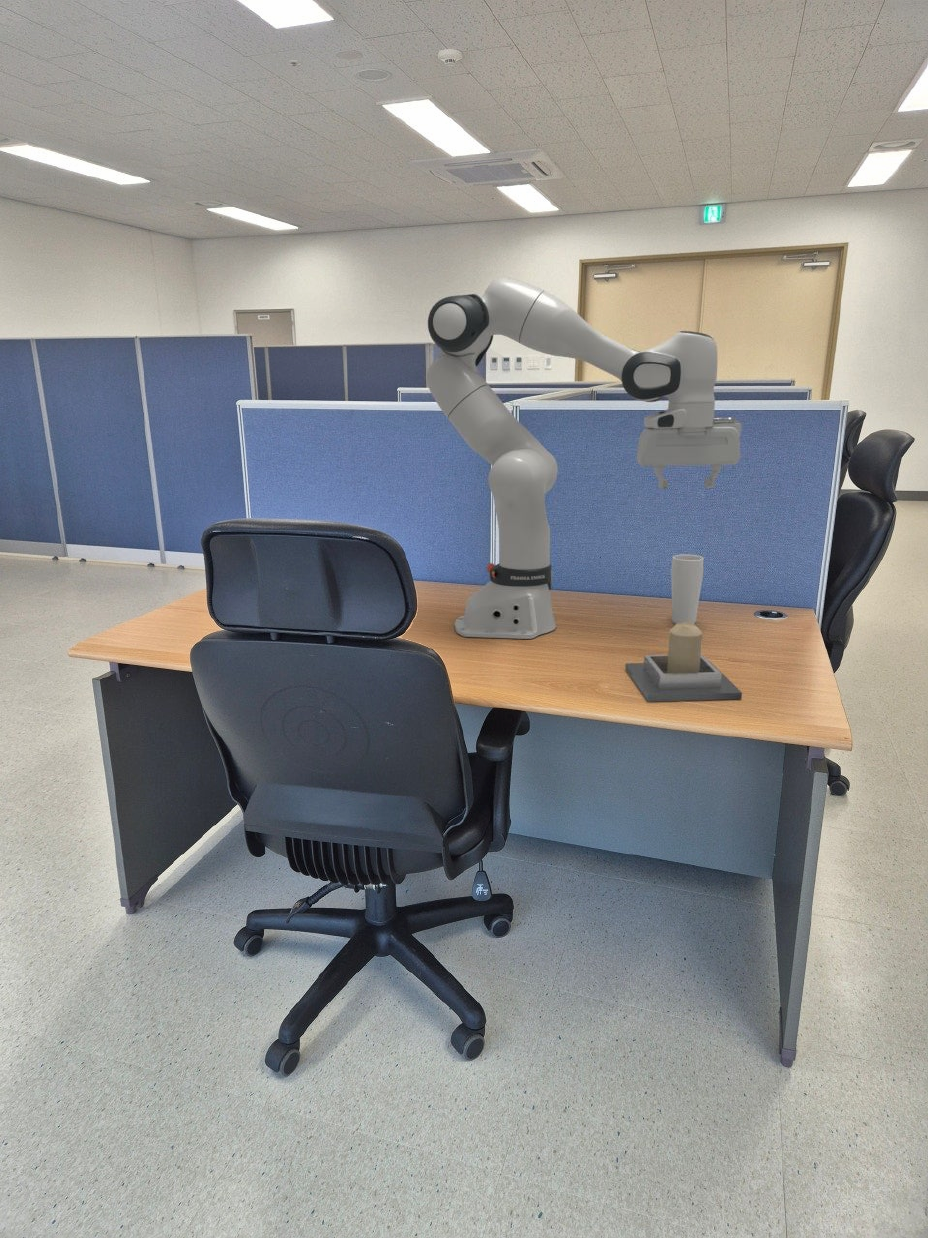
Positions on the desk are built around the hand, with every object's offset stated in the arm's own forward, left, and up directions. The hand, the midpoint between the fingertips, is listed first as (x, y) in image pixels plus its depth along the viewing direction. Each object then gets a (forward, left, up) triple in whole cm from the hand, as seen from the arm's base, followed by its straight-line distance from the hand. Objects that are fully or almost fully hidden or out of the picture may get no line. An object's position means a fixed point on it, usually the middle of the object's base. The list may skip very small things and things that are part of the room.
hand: (686, 488), depth 159 cm
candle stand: (-8, -29, -31) cm, 43 cm away
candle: (-8, -29, -30) cm, 43 cm away
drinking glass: (+4, +8, -31) cm, 33 cm away
